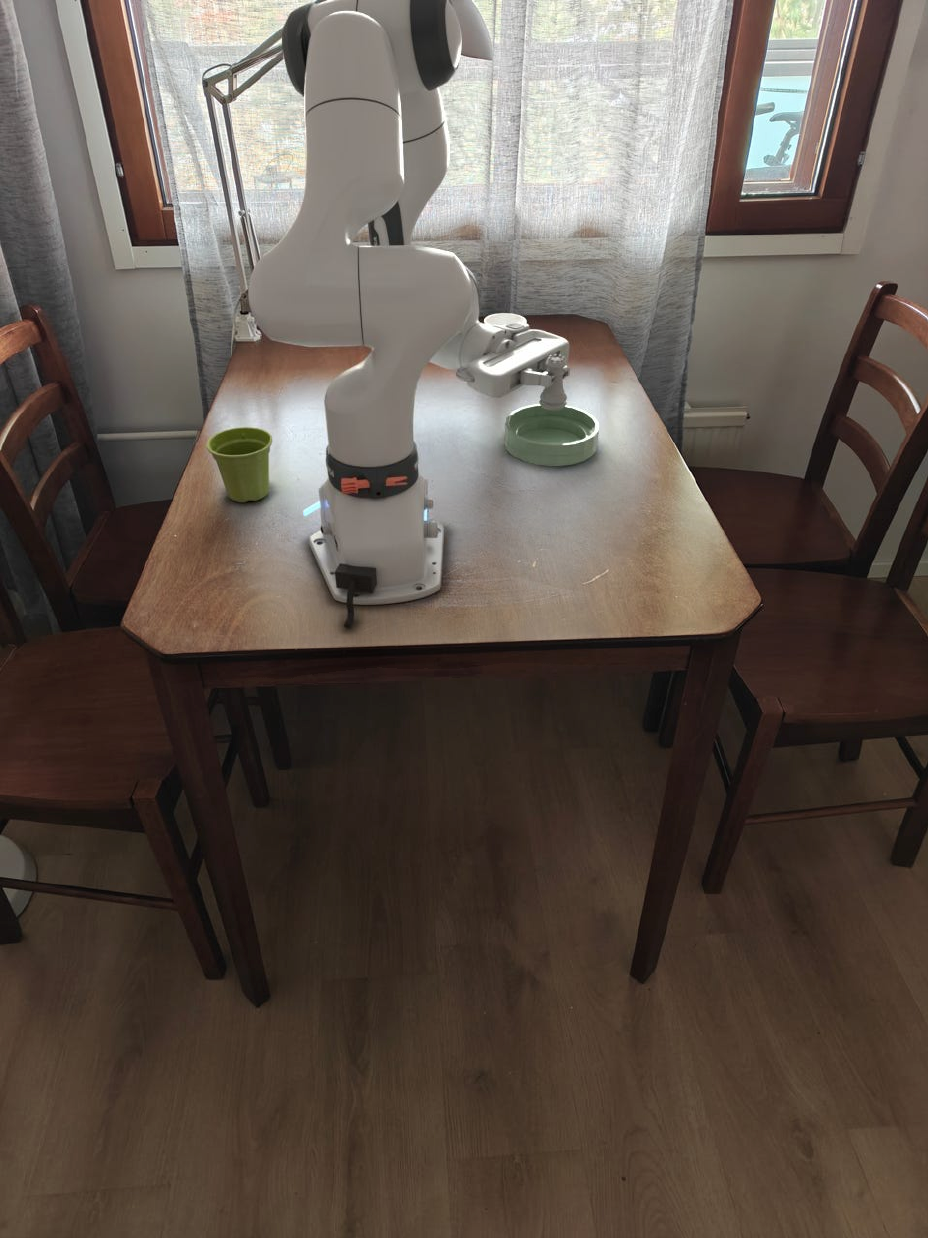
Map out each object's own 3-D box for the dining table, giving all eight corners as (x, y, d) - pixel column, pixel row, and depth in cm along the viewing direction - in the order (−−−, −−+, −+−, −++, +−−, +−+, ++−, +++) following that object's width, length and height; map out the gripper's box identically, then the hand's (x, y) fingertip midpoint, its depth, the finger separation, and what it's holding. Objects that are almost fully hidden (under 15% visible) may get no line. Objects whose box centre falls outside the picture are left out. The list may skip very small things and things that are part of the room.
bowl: (608, 465, 140) (611, 441, 137) (515, 472, 138) (516, 448, 135) (581, 423, 152) (583, 400, 149) (496, 430, 149) (496, 407, 147)
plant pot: (203, 499, 131) (192, 446, 125) (243, 472, 137) (235, 421, 132) (253, 515, 127) (244, 461, 122) (292, 486, 134) (285, 434, 128)
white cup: (520, 381, 166) (523, 329, 159) (479, 377, 167) (480, 325, 161) (526, 365, 172) (529, 314, 165) (487, 362, 173) (488, 311, 167)
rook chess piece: (566, 400, 142) (570, 352, 137) (566, 412, 138) (570, 363, 133) (539, 398, 142) (542, 351, 137) (538, 410, 139) (541, 362, 134)
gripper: (449, 354, 135) (521, 378, 128) (528, 319, 148) (597, 339, 141) (449, 392, 139) (519, 418, 132) (526, 355, 152) (593, 376, 145)
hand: (559, 377), depth 137 cm, fingers closed on rook chess piece, 3 cm apart
